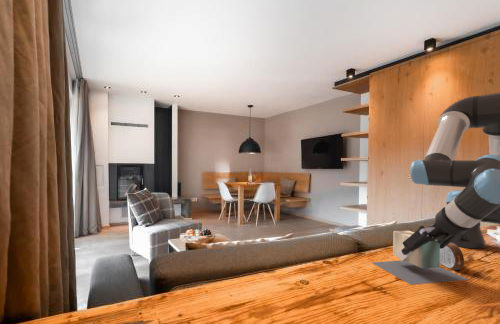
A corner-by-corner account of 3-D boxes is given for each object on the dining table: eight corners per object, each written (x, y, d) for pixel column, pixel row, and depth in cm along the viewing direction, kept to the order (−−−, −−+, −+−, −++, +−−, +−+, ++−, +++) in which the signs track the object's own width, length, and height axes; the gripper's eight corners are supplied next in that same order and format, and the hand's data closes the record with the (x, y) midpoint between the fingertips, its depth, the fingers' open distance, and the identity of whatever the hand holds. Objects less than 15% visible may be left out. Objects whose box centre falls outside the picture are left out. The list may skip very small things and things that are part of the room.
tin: (465, 274, 85) (465, 247, 85) (454, 274, 85) (455, 246, 85) (433, 257, 100) (433, 234, 100) (424, 257, 100) (425, 234, 100)
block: (408, 230, 93) (439, 240, 81) (408, 253, 93) (439, 267, 81) (393, 231, 92) (422, 241, 80) (392, 254, 92) (422, 268, 80)
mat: (421, 260, 96) (421, 259, 96) (469, 280, 80) (469, 279, 80) (371, 263, 92) (371, 262, 92) (410, 286, 75) (410, 284, 75)
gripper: (476, 204, 78) (426, 245, 94) (419, 205, 74) (378, 247, 90) (496, 227, 72) (440, 266, 88) (436, 230, 68) (389, 270, 84)
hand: (409, 256), depth 89 cm, fingers closed on block, 6 cm apart
